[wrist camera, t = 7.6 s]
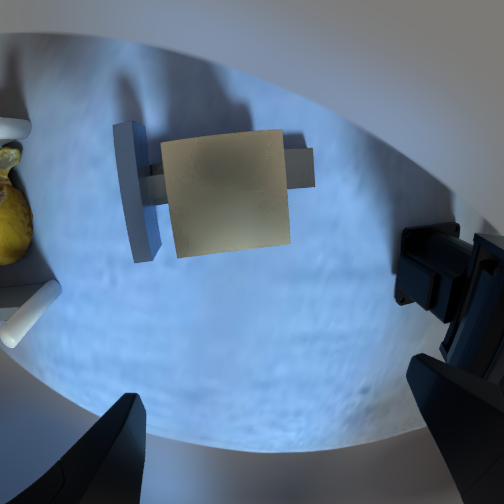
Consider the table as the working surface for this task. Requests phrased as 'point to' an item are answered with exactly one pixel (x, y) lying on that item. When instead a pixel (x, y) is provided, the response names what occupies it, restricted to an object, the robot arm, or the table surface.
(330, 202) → the table surface
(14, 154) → the fruit
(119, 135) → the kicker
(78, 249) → the table surface
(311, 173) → the rail
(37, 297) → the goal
